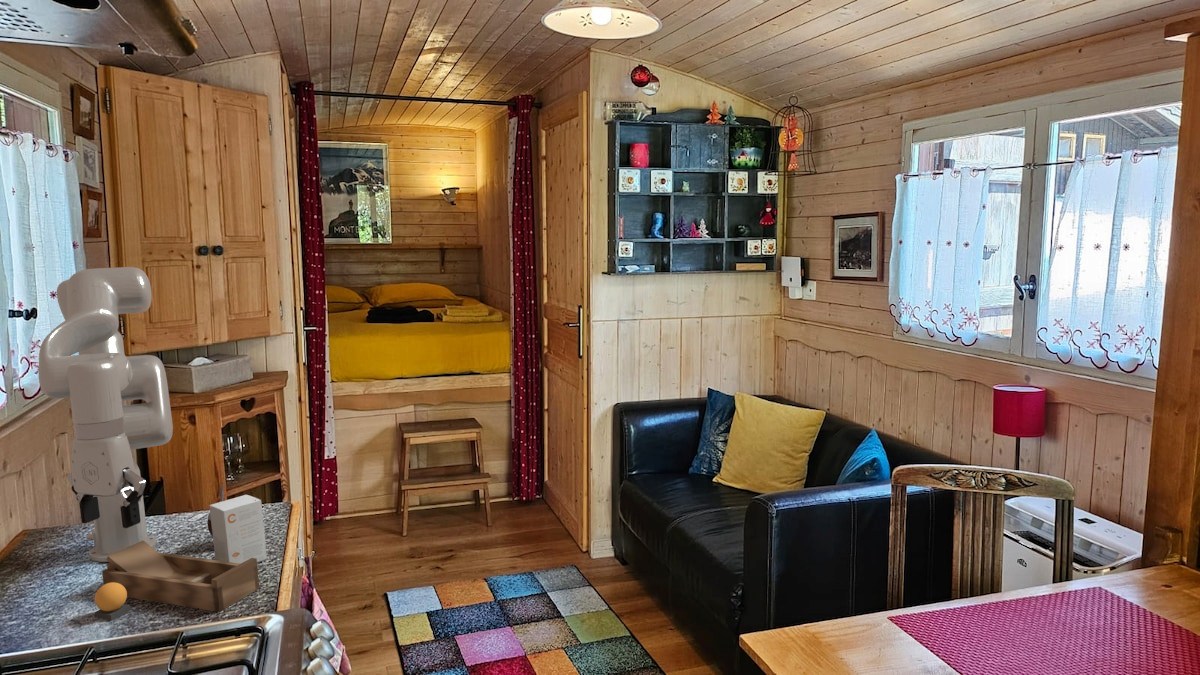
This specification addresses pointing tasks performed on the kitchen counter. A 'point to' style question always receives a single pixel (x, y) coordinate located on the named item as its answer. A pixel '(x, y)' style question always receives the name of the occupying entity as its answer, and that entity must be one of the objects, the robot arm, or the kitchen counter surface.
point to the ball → (110, 596)
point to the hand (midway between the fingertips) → (111, 523)
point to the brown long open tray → (180, 578)
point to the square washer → (112, 613)
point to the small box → (238, 529)
